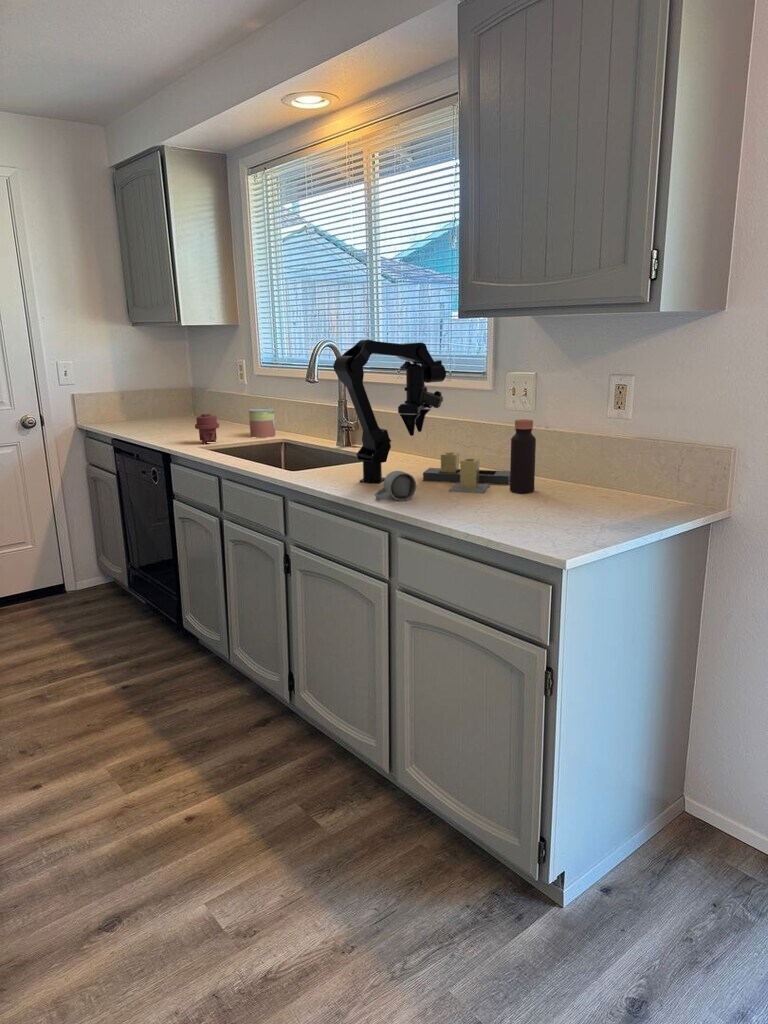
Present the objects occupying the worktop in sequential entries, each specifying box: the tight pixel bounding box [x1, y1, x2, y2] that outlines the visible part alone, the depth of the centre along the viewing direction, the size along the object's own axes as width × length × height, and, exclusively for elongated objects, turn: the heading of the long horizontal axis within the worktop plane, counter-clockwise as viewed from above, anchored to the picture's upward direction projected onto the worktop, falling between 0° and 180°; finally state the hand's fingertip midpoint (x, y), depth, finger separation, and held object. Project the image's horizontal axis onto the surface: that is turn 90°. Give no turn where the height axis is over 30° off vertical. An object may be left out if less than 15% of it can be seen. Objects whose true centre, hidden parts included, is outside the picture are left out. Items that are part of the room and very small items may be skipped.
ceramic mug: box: [374, 470, 417, 502], centre depth 194 cm, size 11×8×8 cm
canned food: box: [248, 408, 277, 439], centre depth 317 cm, size 11×11×12 cm
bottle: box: [509, 419, 537, 494], centre depth 198 cm, size 7×7×20 cm
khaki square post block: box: [440, 451, 460, 473], centre depth 217 cm, size 5×5×8 cm
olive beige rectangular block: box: [459, 457, 480, 489], centre depth 204 cm, size 5×5×8 cm
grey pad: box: [448, 482, 491, 494], centre depth 205 cm, size 10×10×1 cm
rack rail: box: [422, 467, 510, 485], centre depth 216 cm, size 8×26×2 cm, turn 72°
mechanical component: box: [194, 413, 220, 444], centre depth 300 cm, size 12×10×10 cm
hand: (415, 433), depth 224 cm, fingers open, 9 cm apart
